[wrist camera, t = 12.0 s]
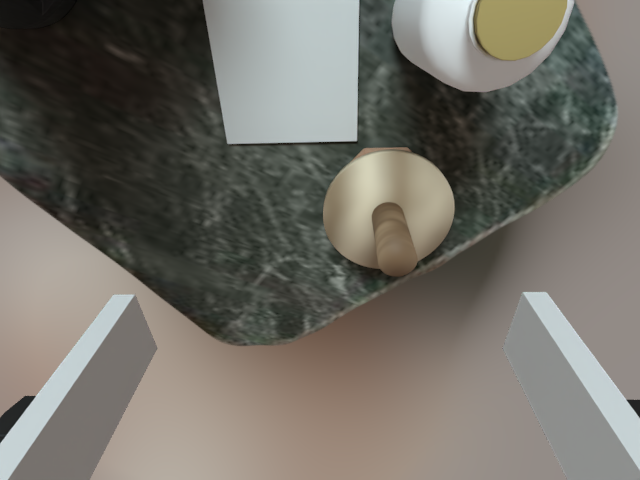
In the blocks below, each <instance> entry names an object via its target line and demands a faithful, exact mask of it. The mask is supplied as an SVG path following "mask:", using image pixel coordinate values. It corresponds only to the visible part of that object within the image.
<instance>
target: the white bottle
mask: <svg viewBox="0 0 640 480" xmlns="http://www.w3.org/2000/svg"><path fill="white" fill-rule="evenodd" d="M573 5H574V0H395V3H394V6H393V14H392V29H393V35H394V40H395V42H396V44H397V46H398V48H399V50H400V52H401V53H402V54H403V55H404V56H405V57H406V58H407V59H408V60H409V61H410V62H412V63H413V64H415V65H416V66H418V67H420V68H421V69H423V70H424V71H426V72H427V73H429V74H431V75H432V76H434V77H435V78H437V79H439V80H440V81H442V82H443V83H445V84H447V85H450V86H452V87H454V88H457V89H459V90H461V91H468V92H489V91H492V90H496V89H500V88H503V87H507V86H510V85H512V84H513V83H515V82H517V81H518V80H520V79H522V78H523V77H525V76H527V75H528V74H530V73H531V72H532V71H533V70H534V69H535V68H536V67H537V66H539V65H540V64H541V63H542V62H543V61H544V60H545V59H546V58H547V57H548V56H549V55H550V53H551V52H552V50H553V49H554V47H555V45H556V44H557V42H558V41H559V39H560V37H561V36H562V34H563V33H564V31H565V29H566V26H567V23H568V20H569V17H570V14H571V11H572V8H573Z"/></svg>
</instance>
